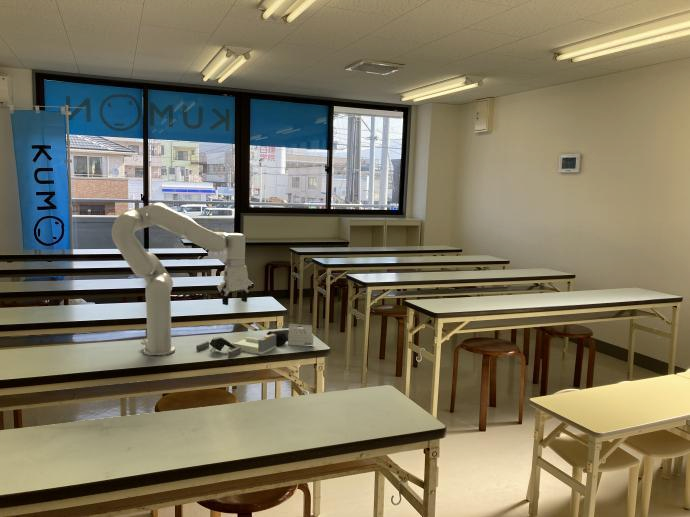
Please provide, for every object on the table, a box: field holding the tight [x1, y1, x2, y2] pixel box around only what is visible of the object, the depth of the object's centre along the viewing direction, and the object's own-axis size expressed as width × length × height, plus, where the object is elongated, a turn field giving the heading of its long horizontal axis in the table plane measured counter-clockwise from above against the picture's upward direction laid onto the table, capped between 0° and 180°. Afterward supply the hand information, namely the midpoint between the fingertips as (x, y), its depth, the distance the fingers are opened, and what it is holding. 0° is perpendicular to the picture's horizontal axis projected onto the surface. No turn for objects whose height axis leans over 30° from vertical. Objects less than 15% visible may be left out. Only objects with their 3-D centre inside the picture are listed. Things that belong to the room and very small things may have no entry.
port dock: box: [228, 334, 277, 355], centre depth 249 cm, size 17×11×6 cm, turn 66°
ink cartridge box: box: [287, 323, 314, 346], centre depth 255 cm, size 2×11×10 cm, turn 78°
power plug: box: [209, 336, 236, 355], centre depth 243 cm, size 6×8×12 cm
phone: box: [273, 329, 289, 341], centre depth 270 cm, size 8×1×15 cm
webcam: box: [266, 330, 288, 348], centre depth 256 cm, size 9×6×6 cm
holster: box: [195, 341, 242, 358], centre depth 242 cm, size 17×7×2 cm, turn 66°
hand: (234, 303), depth 242 cm, fingers open, 9 cm apart
